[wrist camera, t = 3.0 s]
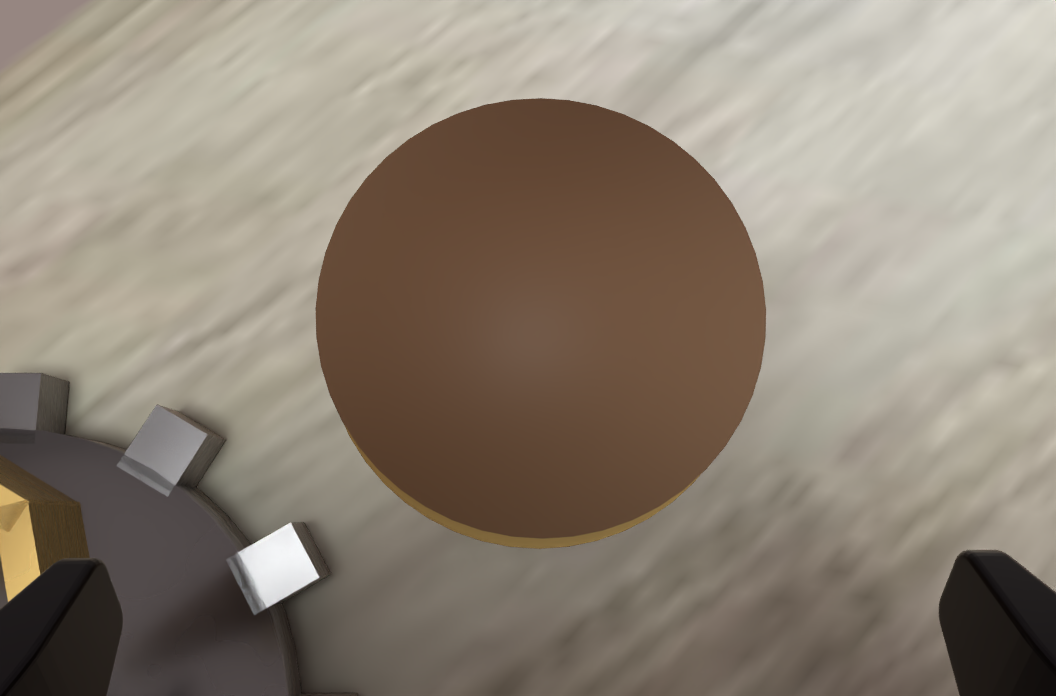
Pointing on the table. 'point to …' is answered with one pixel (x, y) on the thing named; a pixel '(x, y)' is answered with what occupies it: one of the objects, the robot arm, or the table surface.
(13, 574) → the sprocket
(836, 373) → the table surface
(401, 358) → the peg
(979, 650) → the robot arm
